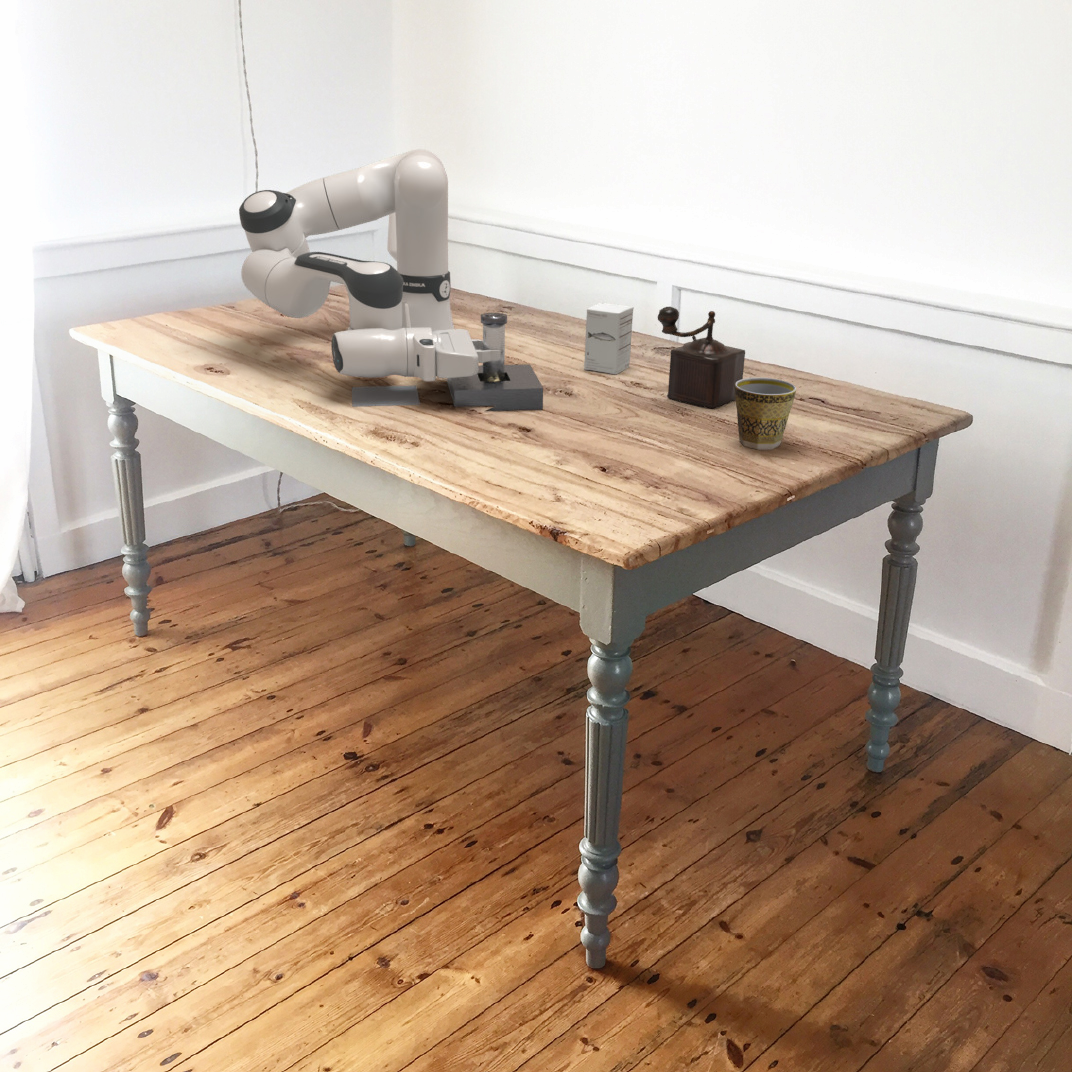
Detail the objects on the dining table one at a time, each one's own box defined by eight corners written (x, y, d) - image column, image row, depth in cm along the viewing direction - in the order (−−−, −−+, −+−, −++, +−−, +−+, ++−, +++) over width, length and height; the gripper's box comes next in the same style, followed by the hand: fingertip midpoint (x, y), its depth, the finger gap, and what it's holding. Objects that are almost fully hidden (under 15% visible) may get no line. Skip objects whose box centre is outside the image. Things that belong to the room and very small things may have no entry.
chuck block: (454, 412, 206) (454, 390, 204) (447, 386, 220) (446, 366, 218) (542, 409, 208) (543, 388, 206) (529, 384, 222) (530, 364, 221)
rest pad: (352, 411, 205) (352, 406, 204) (352, 392, 215) (351, 387, 215) (420, 409, 206) (420, 404, 206) (416, 390, 217) (416, 385, 217)
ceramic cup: (797, 452, 189) (804, 394, 185) (738, 453, 188) (743, 395, 184) (774, 427, 201) (780, 372, 197) (718, 428, 200) (723, 372, 196)
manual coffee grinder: (693, 386, 223) (700, 293, 216) (742, 397, 217) (751, 303, 210) (647, 403, 212) (653, 307, 205) (697, 416, 206) (705, 317, 199)
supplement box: (582, 370, 232) (585, 308, 227) (598, 362, 238) (600, 301, 233) (616, 375, 229) (619, 312, 224) (631, 367, 235) (634, 305, 230)
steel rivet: (475, 391, 212) (475, 316, 207) (489, 385, 216) (490, 311, 211) (496, 395, 210) (497, 319, 205) (511, 389, 214) (512, 314, 208)
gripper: (419, 354, 219) (491, 352, 221) (426, 384, 201) (505, 382, 203) (418, 321, 216) (491, 320, 218) (425, 349, 198) (505, 347, 200)
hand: (498, 350), depth 210 cm, fingers closed on steel rivet, 4 cm apart
